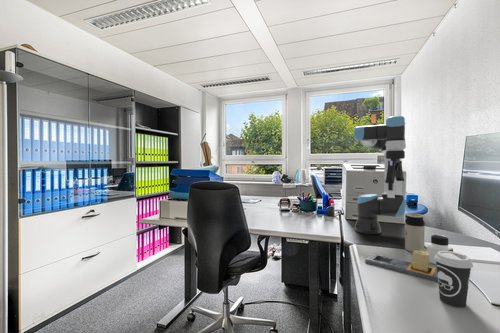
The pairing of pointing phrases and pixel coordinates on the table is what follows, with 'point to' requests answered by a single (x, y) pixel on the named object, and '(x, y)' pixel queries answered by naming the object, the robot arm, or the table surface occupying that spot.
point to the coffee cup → (453, 277)
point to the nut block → (421, 261)
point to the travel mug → (414, 232)
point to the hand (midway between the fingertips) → (395, 196)
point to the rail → (401, 266)
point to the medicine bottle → (438, 246)
